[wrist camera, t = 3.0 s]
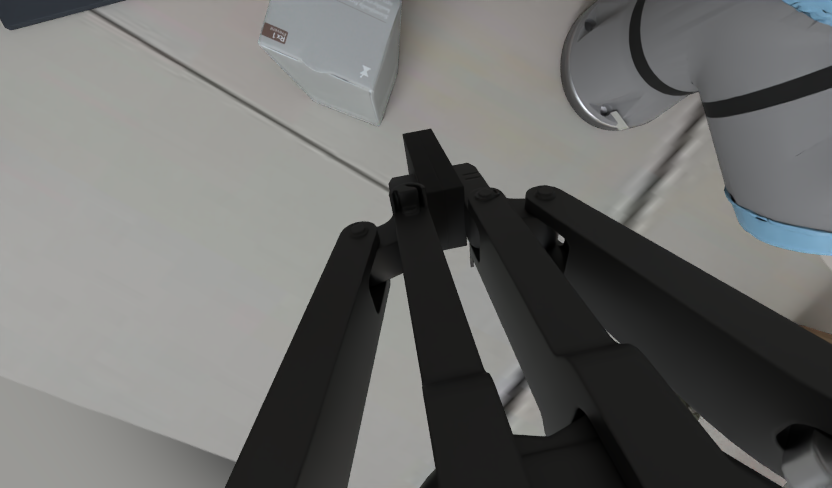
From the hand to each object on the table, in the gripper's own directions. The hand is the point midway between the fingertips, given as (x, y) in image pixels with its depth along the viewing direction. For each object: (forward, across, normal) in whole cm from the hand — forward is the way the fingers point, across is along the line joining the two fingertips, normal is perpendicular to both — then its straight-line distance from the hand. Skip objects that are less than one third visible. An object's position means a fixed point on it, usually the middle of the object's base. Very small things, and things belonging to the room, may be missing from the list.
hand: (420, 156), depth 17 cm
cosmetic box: (+24, +4, +1) cm, 24 cm away
